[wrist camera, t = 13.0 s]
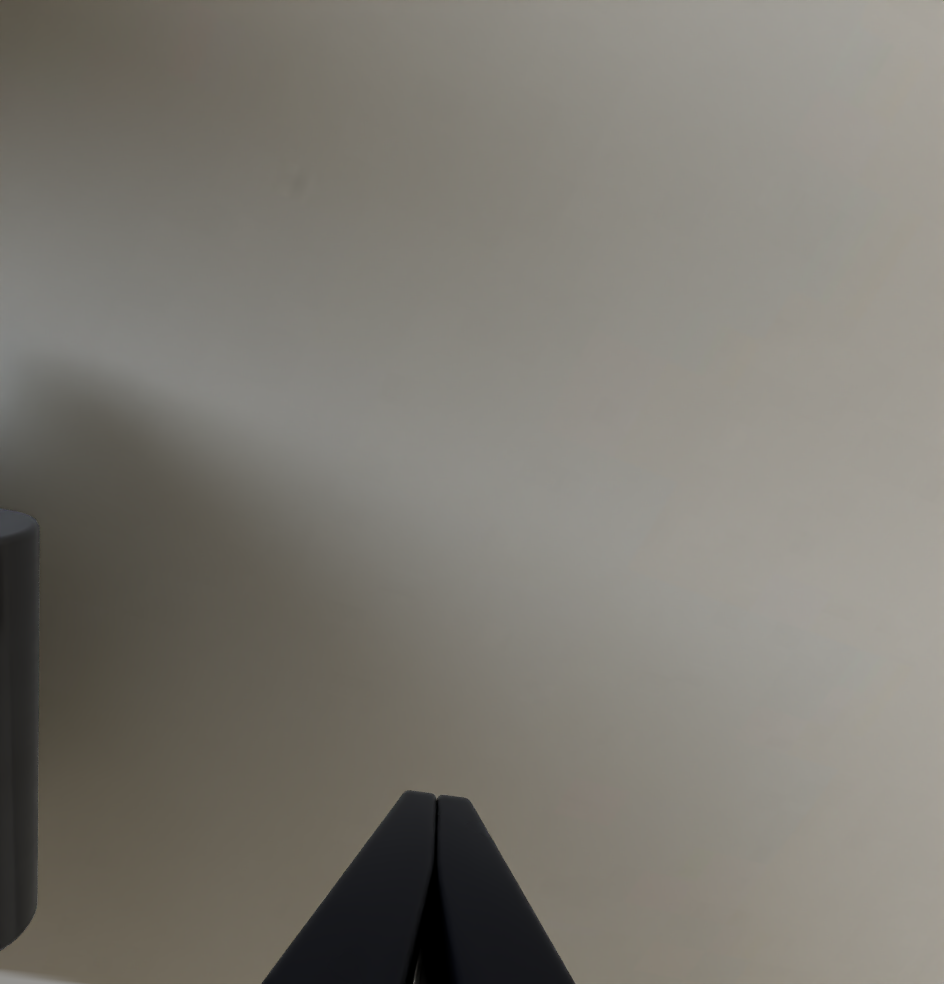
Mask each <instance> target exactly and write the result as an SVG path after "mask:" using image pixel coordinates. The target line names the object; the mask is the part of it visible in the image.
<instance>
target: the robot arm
mask: <svg viewBox="0 0 944 984" xmlns="http://www.w3.org/2000/svg"><path fill="white" fill-rule="evenodd" d="M413 983H414V984H575V982H574V981H573V979H572V977H571V975H570V974H569V972H568V970H567V968H566V967H565V965H564V963H563V961H562V960H561V958H560V956H559V954H558V953H557V951H556V949H555V947H554V946H553V944H552V942H551V941H550V939H549V937H548V935H547V934H546V932H545V930H544V928H543V927H542V925H541V923H540V921H539V920H538V918H537V916H536V914H535V913H534V911H533V909H532V907H531V906H530V904H529V902H528V901H527V899H526V897H525V895H524V894H523V892H522V890H521V888H520V887H519V885H518V883H517V881H516V880H515V878H514V876H513V874H512V873H511V871H510V869H509V867H508V866H507V864H506V862H505V861H504V859H503V857H502V855H501V854H500V852H499V850H498V848H497V847H496V845H495V843H494V841H493V840H492V838H491V836H490V834H489V833H488V831H487V829H486V827H485V826H484V824H483V822H482V820H481V819H480V817H479V815H478V814H477V812H476V810H475V808H474V807H473V805H472V803H471V802H470V800H468V799H467V798H464V797H456V796H448V795H440V796H439V797H438V798H437V801H436V797H435V795H434V794H432V793H426V792H418V791H411V790H409V791H406V792H404V793H403V794H402V796H401V797H400V798H399V800H398V801H397V802H396V804H395V805H394V806H393V808H392V809H391V810H390V812H389V813H388V814H387V816H386V817H385V818H384V820H383V821H382V822H381V824H380V825H379V826H378V828H377V829H376V831H375V832H374V833H373V835H372V836H371V837H370V839H369V840H368V841H367V843H366V844H365V845H364V847H363V848H362V849H361V851H360V852H359V853H358V855H357V856H356V857H355V859H354V860H353V861H352V863H351V864H350V865H349V867H348V868H347V869H346V871H345V872H344V873H343V875H342V876H341V877H340V879H339V880H338V881H337V883H336V884H335V886H334V887H333V888H332V890H331V891H330V892H329V894H328V895H327V896H326V898H325V899H324V900H323V902H322V903H321V904H320V906H319V907H318V908H317V910H316V911H315V912H314V914H313V915H312V916H311V918H310V919H309V920H308V922H307V923H306V924H305V926H304V927H303V928H302V930H301V931H300V932H299V934H298V935H297V936H296V938H295V939H294V941H293V942H292V943H291V945H290V946H289V947H288V949H287V950H286V951H285V953H284V954H283V955H282V957H281V958H280V959H279V961H278V962H277V963H276V965H275V966H274V967H273V969H272V970H271V971H270V973H269V974H268V975H267V977H266V978H265V979H264V981H263V982H262V984H413Z"/></svg>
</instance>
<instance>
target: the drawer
mask: <svg viewBox="0 0 944 984" xmlns="http://www.w3.org/2000/svg"><path fill="white" fill-rule="evenodd" d="M39 557H40V527H39V524H38V522H37V521H36V519H35V518H34V517H32V516H30V515H28V514H25V513H22V512H18V511H13V510H8V509H1V508H0V951H1V950H2V949H4V948H5V947H7V946H8V945H10V944H11V943H12V942H13V941H14V940H16V939H17V938H18V937H19V936H20V935H21V934H22V933H23V932H24V930H25V929H26V928H27V926H28V925H29V923H30V922H31V920H32V918H33V916H34V914H35V912H36V908H37V893H38V725H39Z"/></svg>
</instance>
